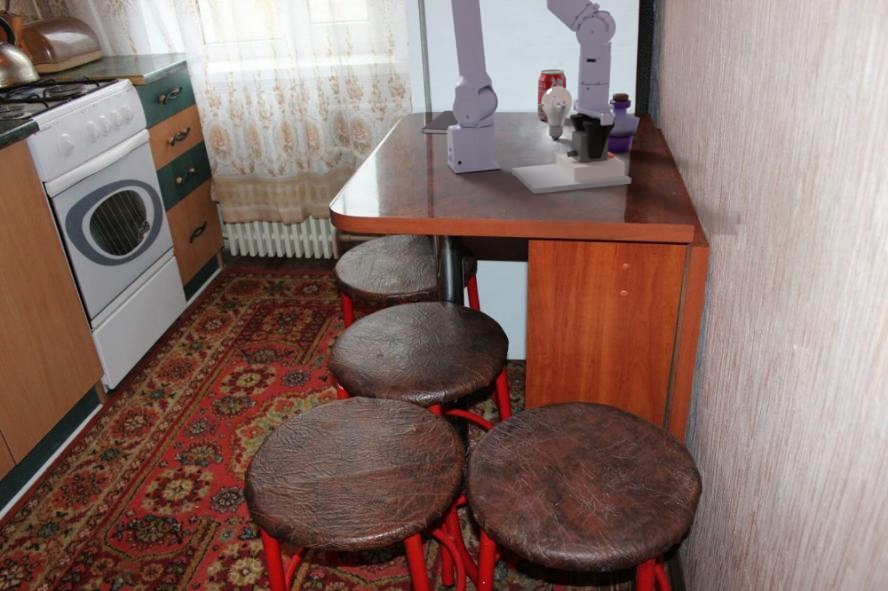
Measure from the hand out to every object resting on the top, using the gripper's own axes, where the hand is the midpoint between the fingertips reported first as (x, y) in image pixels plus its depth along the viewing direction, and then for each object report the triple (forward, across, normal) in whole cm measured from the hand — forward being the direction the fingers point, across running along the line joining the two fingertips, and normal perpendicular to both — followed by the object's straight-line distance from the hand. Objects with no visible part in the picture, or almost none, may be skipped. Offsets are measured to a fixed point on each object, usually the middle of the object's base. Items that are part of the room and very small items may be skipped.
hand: (590, 154), depth 138 cm
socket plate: (+3, 0, 0) cm, 3 cm away
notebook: (+5, +54, +14) cm, 56 cm away
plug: (+2, 0, 0) cm, 2 cm away
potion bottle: (+4, +16, -13) cm, 21 cm away
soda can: (+4, +50, -10) cm, 51 cm away
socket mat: (+4, 0, +4) cm, 6 cm away
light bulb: (+4, +30, -4) cm, 31 cm away
